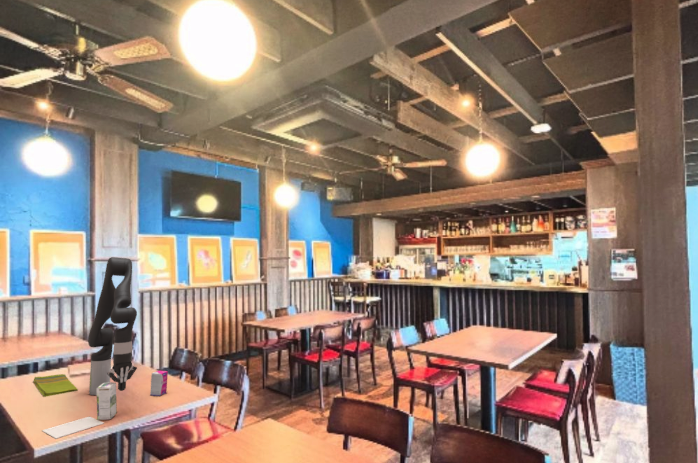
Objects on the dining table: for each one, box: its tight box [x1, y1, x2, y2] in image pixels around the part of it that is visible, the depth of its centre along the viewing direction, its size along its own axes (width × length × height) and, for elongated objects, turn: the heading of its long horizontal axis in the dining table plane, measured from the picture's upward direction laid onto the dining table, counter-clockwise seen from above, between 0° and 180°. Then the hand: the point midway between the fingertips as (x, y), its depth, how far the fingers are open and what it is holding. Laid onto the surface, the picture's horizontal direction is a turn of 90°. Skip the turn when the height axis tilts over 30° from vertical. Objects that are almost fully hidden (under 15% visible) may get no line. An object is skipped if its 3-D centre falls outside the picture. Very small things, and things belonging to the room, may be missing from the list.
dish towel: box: [33, 373, 79, 398], centre depth 225 cm, size 15×36×3 cm, turn 44°
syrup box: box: [96, 381, 118, 421], centre depth 180 cm, size 6×6×14 cm
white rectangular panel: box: [41, 416, 105, 440], centre depth 170 cm, size 13×18×1 cm
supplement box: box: [149, 370, 169, 397], centre depth 212 cm, size 6×6×12 cm
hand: (121, 390), depth 185 cm, fingers closed
